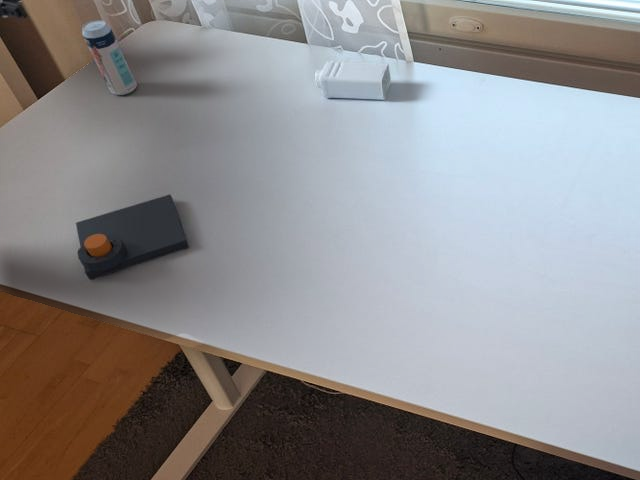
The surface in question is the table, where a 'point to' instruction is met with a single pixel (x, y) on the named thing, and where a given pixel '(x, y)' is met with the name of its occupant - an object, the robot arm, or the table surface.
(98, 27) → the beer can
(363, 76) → the white bottle
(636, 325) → the table surface
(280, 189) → the table surface
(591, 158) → the table surface
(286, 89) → the table surface
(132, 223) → the scale
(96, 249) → the button
